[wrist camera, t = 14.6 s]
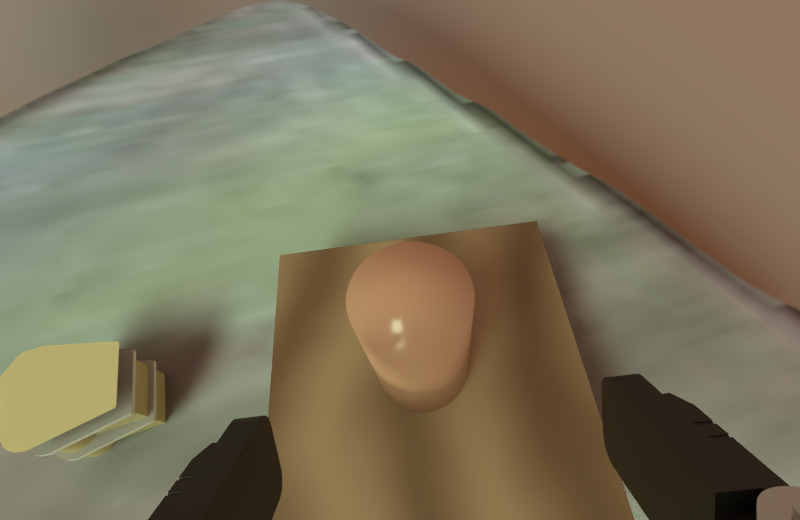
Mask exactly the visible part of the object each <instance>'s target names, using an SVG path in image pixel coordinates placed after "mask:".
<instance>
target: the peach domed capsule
mask: <svg viewBox="0 0 800 520" xmlns="http://www.w3.org/2000/svg"><path fill="white" fill-rule="evenodd" d="M474 302H475V293H474V286H473V283H472V279H471V277H470V275H469V273H468V271H467V269H466V268H465V266H464V265H463V264H462V263H461V262H460V260H458V259H457V258H456V257H455V256H454V255H453V254H451V253H450V252H448V251H446V250H445V249H443V248H441V247H438V246H436V245H432V244H429V243H423V242H402V243H397V244H393V245H390V246H387V247H385V248H382V249H380V250H378V251H377V252H375V253H373V254H372V255H371V256H369V257H368V258H367V259H366V260H365V261H363V262H362V264H361V265H360V266H359V267H358V268H357V270H356V271H355V273H354V274H353V276H352V278H351V280H350V283H349V286H348V289H347V294H346V310H347V314H348V318H349V321H350V323H351V325H352V327H353V329H354V331H355V333H356V335H357V337H358V339H359V341H360V343H361V345H362V347H363V349H364V351H365V353H366V355H367V357H368V359H369V361H370V363H371V365H372V367H373V369H374V371H375V373H376V375H377V377H378V379H379V381H380V383H381V385H382V387H383V389H384V391H385V393H386V394H387V395H388V397H389V398H390V399H391V400H392V401H393V402H395V403H396V404H397V405H399V406H401V407H402V408H404V409H407V410H410V411H414V412H431V411H435V410H438V409H441V408H443V407H445V406H446V405H448V404H449V403H451V402H452V401H453V400H454V399H455V398H456V397H457V396H458V395H459V393H460V392H461V390H462V388H463V386H464V384H465V381H466V377H467V370H468V360H469V350H470V341H471V331H472V322H473V312H474Z"/></svg>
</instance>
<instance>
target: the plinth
mask: <svg viewBox="0 0 800 520" xmlns="http://www.w3.org/2000/svg"><path fill="white" fill-rule="evenodd" d="M402 242H423V243H429V244H432V245H436V246H438V247H441V248H443V249H445V250H446V251H448V252H450V253H451V254H453V255H454V256H455V257H456V258H457V259H458V260H460V262H461V263H462V264H463V265H464V266H465V268H466V269H467V271H468V273H469V275H470V277H471V279H472V283H473V286H474V293H475V302H474V312H473V322H472V331H471V341H470V350H469V360H468V370H467V377H466V381H465V384H464V386H463V388H462V390H461V392H460V393H459V395H458V396H457V397H456V398H455V399H454V400H453V401H452V402H451V403H449V404H448V405H446V406H445V407H443V408H441V409H438V410H435V411H431V412H414V411H410V410H407V409H404V408H402V407H401V406H399V405H397V404H396V403H395V402H393V401H392V400H391V399H390V398H389V397H388V395H387V394H386V393H385V391H384V389H383V387H382V385H381V383H380V381H379V379H378V377H377V375H376V373H375V371H374V369H373V367H372V365H371V363H370V361H369V359H368V357H367V355H366V353H365V351H364V349H363V347H362V345H361V343H360V341H359V339H358V337H357V335H356V333H355V331H354V329H353V327H352V325H351V323H350V321H349V318H348V314H347V310H346V294H347V289H348V286H349V283H350V280H351V278H352V276H353V274H354V273H355V271H356V270H357V268H358V267H359V266H360V265H361V264H362V262H363V261H365V260H366V259H367V258H368V257H369V256H371V255H372V254H373V253H375V252H377V251H378V250H380V249H382V248H385V247H387V246H390V245H393V244H397V243H402ZM268 419H269V420H270V423H271V427H272V431H273V435H274V440H275V444H276V448H277V452H278V457H279V461H280V465H281V470H282V492H281V497H280V500H279V503H278V505H277V508H276V510H275V513H274V516H273V518H272V520H634V517H633V514H632V511H631V508H630V505H629V502H628V499H627V496H626V493H625V490H624V487H623V484H622V481H621V478H620V476H619V474H618V473H617V471H616V470H615V468H614V467H613V465H612V463H611V461H610V459H609V457H608V454H607V451H606V448H605V444H604V438H603V423H602V420H601V417H600V414H599V411H598V407H597V404H596V401H595V398H594V395H593V392H592V389H591V386H590V383H589V380H588V377H587V374H586V371H585V368H584V365H583V362H582V359H581V356H580V353H579V349H578V346H577V343H576V340H575V337H574V334H573V331H572V328H571V325H570V322H569V319H568V316H567V313H566V310H565V307H564V304H563V301H562V298H561V294H560V291H559V288H558V285H557V282H556V279H555V276H554V273H553V270H552V267H551V264H550V261H549V258H548V255H547V252H546V249H545V246H544V243H543V240H542V236H541V233H540V230H539V227H538V224H537V221H535V222H527V223H520V224H512V225H505V226H497V227H490V228H482V229H474V230H467V231H459V232H452V233H444V234H437V235H429V236H422V237H414V238H407V239H399V240H392V241H384V242H377V243H369V244H362V245H354V246H347V247H339V248H331V249H324V250H316V251H309V252H301V253H294V254H286V255H280V262H279V276H278V290H277V304H276V317H275V331H274V345H273V359H272V372H271V386H270V400H269V414H268Z"/></svg>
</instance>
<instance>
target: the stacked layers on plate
mask: <svg viewBox="0 0 800 520" xmlns="http://www.w3.org/2000/svg"><path fill="white" fill-rule="evenodd" d="M163 423H166V420H165V374H163V373H161V372H159V371H157V370H156V361H154V360H141V361H137V360H136V351H135V350H133V349H123V350H119V342H118V341H116V342H99V343H83V344H66V345H50V346H42V347H39V348H36V349H33V350H30V351H27V352H24V353H21V354H20V355H19V356H18V357H17V358H16V359H15V360H14V362H13V363H12V364H11V365H10V366H9V368H8V369H7V370H6V371H5V372H4V373H3V375H2V376H1V377H0V442H1V444H2V446H3V447H4V448H5V449H6V450H8V451H10V452H23V451H26V452H27V453H29V454H31V455H35V456H47V455H51V454H54V455H55V456H56V457H58V458H59V459H62V460H68V461H73V460H78V459H81V458H83V457H85V456H90V457H96V456H100V455H102V454H104V453H105V452H107V451H108V450H109V449H110V448H111V447H112V446H113V445H114V444H115V442H116V441H117V440H119V439H121V438H123V437H126V436H129V435H132V434H134V433H137V432H140V431H143V430H146V429H149V428H152V427H155V426H158V425H160V424H163Z"/></svg>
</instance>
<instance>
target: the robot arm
mask: <svg viewBox="0 0 800 520" xmlns="http://www.w3.org/2000/svg"><path fill="white" fill-rule="evenodd" d="M602 415H603V438H604V444H605V448H606V451H607V454H608V457H609V459H610V461H611V463H612V465H613V467H614V468H615V470H616V471H617V473H618V474H619V476H620V477H621V479H622V480H623V482H624V483H625V485H626V486H627V488H628V489H629V491H630V492H631V494H632V495H633V497H634V498H635V499H636V501H637V502H638V504H639V505H640V507H641V508H642V510H643V511H644V513H645V514H646V516H647V517H648V519H649V520H800V487H793V486H789V485H788V484H787V483H785V482H784V481H783V480H782V479H781V478H780V477H778V476H777V475H776V474H775V473H774V472H773V471H771V470H770V469H769V468H768V467H767V466H765V465H764V464H763V463H762V462H761V461H760V460H758V459H757V458H756V457H755V456H754V455H753V454H751V453H750V452H749V451H748V450H747V449H745V448H744V447H743V446H742V445H741V444H740V443H738V442H737V441H736V440H735V439H734V438H733V437H731V438H730V437H729V436H728V433H727V432H725V431H724V430H723V429H722V428H721V427H720V426H718V425H717V424H714V423H713V421H712V420H711V419H710V418H709V417H708V416H707V415H705V414H704V413H703V412H702V411H701V410H700V409H698V408H697V407H696V406H695V405H693V404H691V403H689V402H687V401H685V400H683V399H681V398H679V397H677V396H675V395H672V394H670V393H665V394H661V393H660V392H659V391H658V390H657V389H656V388H655V387H654V386H653V385H652V384H650V383H649V382H648V381H647V380H646V379H645V378H644V377H643V376H642V375H640V374H630V375H622V376H613V377H605V378H604V379H603V381H602ZM281 492H282V470H281V465H280V461H279V457H278V452H277V448H276V444H275V440H274V435H273V431H272V427H271V423H270V420H269V419H268V417H267V416H257V417H248V418H239V419H234V420H233V421H232V422H231V423H230V425H229V426H228V427H227V429H226V430H225V432H224V433H223V435H222V436H221V438H220V439H219V441H218V442H217V443H211V444H210V445H209V446H208V447H207V448H205V449H204V450H203V451H202V452H200V453H199V454H198V455H197V456H196V457H194V458H193V459H192V460H191V462H190V463H189V464H188V466H187V467H186V468H185V470H184V471H183V473H182V474H181V475H180V477H179V480H177V481H176V482H175V484H174V485H173V486H172V488H171V489H170V490H169V492H168V496H165V497H164V499H163V500H162V501H161V503H160V504H159V505H158V507H157V508H156V510H155V511H154V512H153V514H152V515H151V516H150V518H149V519H148V520H272V518H273V516H274V513H275V510H276V508H277V505H278V503H279V500H280V497H281Z"/></svg>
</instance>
